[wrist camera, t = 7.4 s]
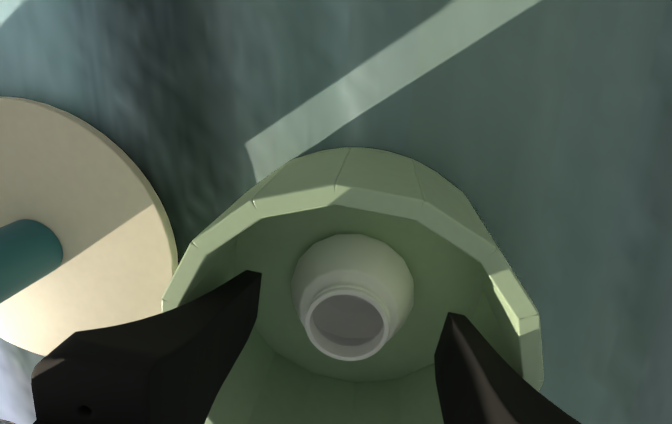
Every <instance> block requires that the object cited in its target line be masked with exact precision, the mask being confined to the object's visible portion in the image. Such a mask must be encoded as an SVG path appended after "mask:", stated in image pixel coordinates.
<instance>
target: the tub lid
mask: <svg viewBox="0 0 672 424" xmlns="http://www.w3.org/2000/svg"><path fill="white" fill-rule="evenodd" d="M177 267H178V254H177V248H176V243H175V237H174V234H173V230H172V227H171V224H170V221H169V218H168V216H167V214H166V212H165V209H164V207H163V205H162V203H161V201H160V199H159V197H158V196H157V194H156V192H155V191H154V189H153V187H152V186H151V184H150V182H149V181H148V180H147V178H146V177H145V176H144V174H143V173H142V172H141V170H140V169H139V168H138V167H137V165H136V164H135V163H134V162H133V161H132V160H131V159H130V158H129V157H128V156H127V155H126V154H125V153H124V151H123V150H122V149H120V148H119V147H118V146H117V145H116V144H115V143H113V142H112V141H111V140H110V139H109V138H108V137H107V136H105V135H104V134H103V133H101V132H100V131H98V130H97V129H95V128H94V127H92V126H91V125H90V124H88V123H87V122H85V121H83V120H81V119H79V118H77V117H75V116H74V115H72V114H70V113H68V112H66V111H63V110H61V109H58V108H56V107H53V106H51V105H48V104H45V103H41V102H37V101H33V100H30V99H24V98H16V97H8V96H7V97H0V337H1V338H2V339H4V340H6V341H8V342H10V343H12V344H14V345H16V346H18V347H20V348H23V349H26V350H28V351H31V352H33V353H36V354H40V355H43V356H47V355H48V354H49V353H50V352H51V351H53V350H54V349H55V348H56V347H57V346H59V345H60V344H61V343H62V342H63V341H64V340H66V339H67V338H68V337H69V336H71V335H72V334H73V333H74V332H76V331H84V330H91V329H98V328H105V327H110V326H116V325H120V324H125V323H129V322H133V321H137V320H141V319H144V318H148V317H151V316H154V315H157V314H160V313H162V296H163V294H164V292H165V290H166V288H167V286H168V284H169V282H170V281H171V279H172V277H173V275H174V273H175V271H176V269H177Z"/></svg>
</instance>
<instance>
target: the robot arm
mask: <svg viewBox="0 0 672 424" xmlns="http://www.w3.org/2000/svg"><path fill="white" fill-rule="evenodd" d="M261 278H262V273H260V272H255V271H251V270H245V271H244V272H242V273H240V274H239V275H237V276H235V277H234V278H232V279H230V280H229V281H227V282H226V283H224V284H222V285H221V286H219V287H217V288H215V289H214V290H212V291H210V292H208V293H206V294H204V295H202V296H200V297H199V298H197V299H195V300H193V301H191V302H188V303H186V304H184V305H182V306H179V307H177V308H174V309H172V310H169V311H166V312H163V313H160V314H157V315H154V316H151V317H148V318H144V319H141V320H137V321H133V322H129V323H125V324H120V325H116V326H110V327H105V328H98V329H91V330H84V331H76V332H74V333H73V334H72V335H71V336H69V337H68V338H67V339H66V340H64V341H63V342H62V343H61V344H60V345H59V346H57V347H56V348H55V349H54V350H53V351H51V352H50V353H49V354H48V355H47V356H46V357H44V358H43V359H42V360H41V361H40V362H39V363H38V364H37V365H36V366H35V368H34V370H33V373H32V383H31V385H32V392H33V399H34V405H35V412H36V418H37V420H36V421H35V422H34V423H33V424H204V423H205V421H206V419H207V416H208V414H209V412H210V409H211V407H212V405H213V403H214V400H215V398H216V396H217V394H218V392H219V390H220V388H221V386H222V385H223V383H224V381H225V379H226V378H227V376H228V374H229V372H230V371H231V369H232V367H233V365H234V364H235V362H236V360H237V358H238V357H239V355H240V353H241V351H242V350H243V348H244V346H245V344H246V342H247V341H248V339H249V336H250V334H251V331H252V329H253V326H254V324H255V321H256V319H257V314H258V305H259V296H260V287H261ZM434 364H435V380H436V386H437V391H438V396H439V402H440V407H441V412H442V417H443V422H444V424H581V423H579V422H578V421H576V420H575V419H574V418H572V417H571V416H569V415H568V414H566V413H565V412H564V411H562V410H561V409H560V408H558V407H557V406H556V405H554V404H553V403H552V402H550V401H549V400H548V399H546V398H545V397H544V396H543V395H541V394H540V393H539V392H538V391H537V390H536V389H534V388H533V387H532V386H531V385H530V384H529V383H528V382H526V381H525V380H524V379H523V378H522V377H521V376H520V375H519V374H518V373H517V372H516V371H515V370H514V369H513V368H512V367H511V366H510V365H509V364H508V363H507V362H506V361H505V360H504V359H503V358H502V357H501V356H500V355H499V354H498V353H497V352H496V351H495V349H494V348H493V347H492V346H491V345H490V344H489V343H488V341H487V340H486V339H485V338H484V337H483V336H482V334H481V333H480V332H479V331H478V330H477V329H476V327H475V326H474V325H473V324H472V323H471V322H470V320H469V319H468V318H467V317H466V316H465V315H462V314H457V313H452V312H448V314H447V317H446V320H445V323H444V326H443V329H442V332H441V335H440V339H439V342H438V345H437V348H436V351H435V354H434ZM0 424H15V423H13V422H9V421H5V420H1V419H0Z"/></svg>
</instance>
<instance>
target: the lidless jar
mask: <svg viewBox="0 0 672 424" xmlns="http://www.w3.org/2000/svg"><path fill="white" fill-rule="evenodd" d="M290 284H291V293H292V302H293V305H294V308H295V310H296V312H297V314H298V316H299V319H300V321H301V323H302V324H303V326H304V328H305V330H306V333H307V335H308V337H309V339H310V341H311V342H312V343H313V345H314V346H315V347H316V348H317V349H318V350H320V351H321V352H322V353H324V354H326V355H328V356H330V357H332V358H335V359H338V360H344V361H357V360H362V359H365V358H368V357H370V356H372V355H374V354H375V353H377V352H378V351H379V350H380V349H381V348H382V347H383V346H384V344H385V343H386V342H387V341H388V340H390V339H391V338H392V337H393V336H394V335H395V334H396V333H397V331H398V330H399V329H400V328H401V327H402V326H403V325H404V324H405V322H406V320H407V318H408V316H409V314H410V312H411V310H412V308H413V306H414V281H413V278H412V276H411V273H410V271H409V269H408V267H407V265H406V263H405V261H404V259H403V258H402V257H401V256H400V255H399V254H398V253H397V252H395V251H394V250H393V249H392V248H391V247H390V246H389V245H387V244H386V243H385V242H382V241H379V240H377V239H374V238H371V237H368V236H366V235H363V234H336V235H334V236H331V237H329V238H326V239H324V240H321V241H319V242H316V243H314V244H313V245H312V246H311V247H310V248H309V249H308V250H307V251H306V252H305V253H304V254H303V255H302V256H301V257H300V258H299V260H298V262H297V265H296V268H295V271H294V274H293V277H292V279H291V282H290Z"/></svg>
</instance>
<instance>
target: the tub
mask: <svg viewBox="0 0 672 424" xmlns="http://www.w3.org/2000/svg"><path fill="white" fill-rule="evenodd" d="M336 234H363V235H366V236H368V237H371V238H374V239H377V240H379V241H382V242H385V243H386V244H387V245H389V246H390V247H391V248H392V249H393V250H394V251H395V252H397V253H398V254H399V255H400V256H401V257H402V258H403V259H404V261H405V263H406V265H407V267H408V269H409V271H410V273H411V276H412V278H413V281H414V306H413V308H412V310H411V312H410V314H409V316H408V318H407V320H406V322H405V324H404V325H403V326H402V327H401V328H400V329H399V330H398V331H397V333H396V334H395V335H394V336H393V337H392V338H391V339H390V340H388V341H387V342H386V343H385V344H384V346H383V347H382V348H381V349H380V350H379V351H378V352H377V353H375V354H374V355H372V356H370V357H368V358H365V359H362V360H357V361H344V360H338V359H335V358H332V357H330V356H328V355H326V354H324V353H322V352H321V351H320V350H318V349H317V348H316V347H315V346H314V345H313V343H312V342H311V341H310V339H309V337H308V335H307V333H306V330H305V328H304V326H303V324H302V323H301V321H300V319H299V316H298V314H297V312H296V310H295V308H294V305H293V302H292V293H291V284H290V282H291V279H292V277H293V274H294V271H295V268H296V265H297V262H298V260H299V258H300V257H301V256H302V255H303V254H304V253H305V252H306V251H307V250H308V249H309V248H310V247H311V246H312V245H313V244H314V243H316V242H319V241H321V240H324V239H326V238H329V237H331V236H334V235H336ZM245 270H251V271H255V272H260V273H262V278H261V287H260V296H259V305H258V314H257V319H256V321H255V324H254V326H253V329H252V331H251V334H250V336H249V339H248V341H247V342H246V344H245V346H244V348H243V350H242V351H241V353H240V355H239V357H238V358H237V360H236V362H235V364H234V365H233V367H232V369H231V371H230V372H229V374H228V376H227V378H226V379H225V381H224V383H223V385H222V386H221V388H220V390H219V392H218V394H217V396H216V398H215V400H214V403H213V405H212V407H211V409H210V412H209V414H208V416H207V419H206V421H205V423H204V424H444V422H443V417H442V412H441V407H440V402H439V396H438V391H437V386H436V380H435V364H434V354H435V351H436V348H437V345H438V342H439V339H440V335H441V332H442V329H443V326H444V323H445V320H446V317H447V314H448V312H452V313H457V314H462V315H465V316H466V317H467V318H468V319H469V320H470V322H471V323H472V324H473V325H474V326H475V327H476V329H477V330H478V331H479V332H480V333H481V334H482V336H483V337H484V338H485V339H486V340H487V341H488V343H489V344H490V345H491V346H492V347H493V348H494V349H495V351H496V352H497V353H498V354H499V355H500V356H501V357H502V358H503V359H504V360H505V361H506V362H507V363H508V364H509V365H510V366H511V367H512V368H513V369H514V370H515V371H516V372H517V373H518V374H519V375H520V376H521V377H522V378H523V379H524V380H525V381H526V382H528V383H529V384H530V385H531V386H532V387H533V388H534V389H536V390H537V391H538V392H539V390H540V388H541V386H542V384H543V380H544V369H543V355H542V341H541V327H540V314H539V313H538V309H537V308H536V306H535V305H534V303H533V302H532V300H531V298H530V297H529V295H528V294H527V292H526V291H525V289H524V287H523V286H522V284H521V283H520V281H519V280H518V278H517V276H516V275H515V273H514V272H513V270H512V268H511V267H510V265H509V264H508V262H507V261H506V259H505V257H504V256H503V254H502V253H501V251H500V250H499V248H498V246H497V245H496V243H495V242H494V240H493V238H492V237H491V235H490V234H489V232H488V231H487V229H486V227H485V226H484V224H483V223H482V221H481V220H480V218H479V216H478V215H477V213H476V212H475V210H474V209H473V207H472V205H471V204H470V202H469V201H468V199H467V197H466V196H465V194H464V193H463V192H462V191H461V190H459V189H458V188H456V187H455V186H453V185H452V184H451V183H450V182H449V181H448V180H446V179H445V178H444V177H442V176H441V175H440V174H438V173H437V172H436V171H434V170H432V169H430V168H429V167H427V166H425V165H423V164H421V163H420V162H418V161H415V160H414V159H411V158H408V157H405V156H403V155H400V154H396V153H392V152H388V151H384V150H379V149H371V148H363V147H347V148H335V149H328V150H322V151H319V152H315V153H312V154H308V155H305V156H302V157H299V158H294V159H293V160H290V161H289V162H287V163H286V164H284V165H283V166H282V167H280V168H279V169H277V170H275V171H274V172H272V173H271V174H270V175H269V176H267V177H266V178H265V179H263V180H262V181H261V182H259V183H258V184H256V185H255V186H254V187H252V188H251V189H249V190H248V191H247V192H246V193H245V194H244V195H243V196H241V197H240V198H239V199H238V200H237V201H236V202H235V203H234V204H232V205H231V206H230V207H229V208H228V209H227V210H226V211H225V212H223V213H222V214H221V215H220V216H219V217H218V218H217V219H216V220H215V221H213V222H212V223H211V224H210V225H209V226H208V227H207V228H206V229H204V230H203V231H202V232H201V233H200V234H199V235H198V236H197V237H195V238H194V239H193V241H192V242H191V243H190V245H189V246H188V248H187V250H186V252H185V254H184V256H183V258H182V260H181V262H180V264H179V265H178V267H177V269H176V271H175V273H174V275H173V277H172V279H171V281H170V282H169V284H168V286H167V288H166V290H165V292H164V294H163V296H162V313H163V312H166V311H169V310H172V309H174V308H177V307H179V306H182V305H184V304H186V303H188V302H191V301H193V300H195V299H197V298H199V297H200V296H202V295H204V294H206V293H208V292H210V291H212V290H214V289H215V288H217V287H219V286H221V285H222V284H224V283H226V282H227V281H229V280H230V279H232V278H234V277H235V276H237V275H239V274H240V273H242V272H244V271H245Z"/></svg>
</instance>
